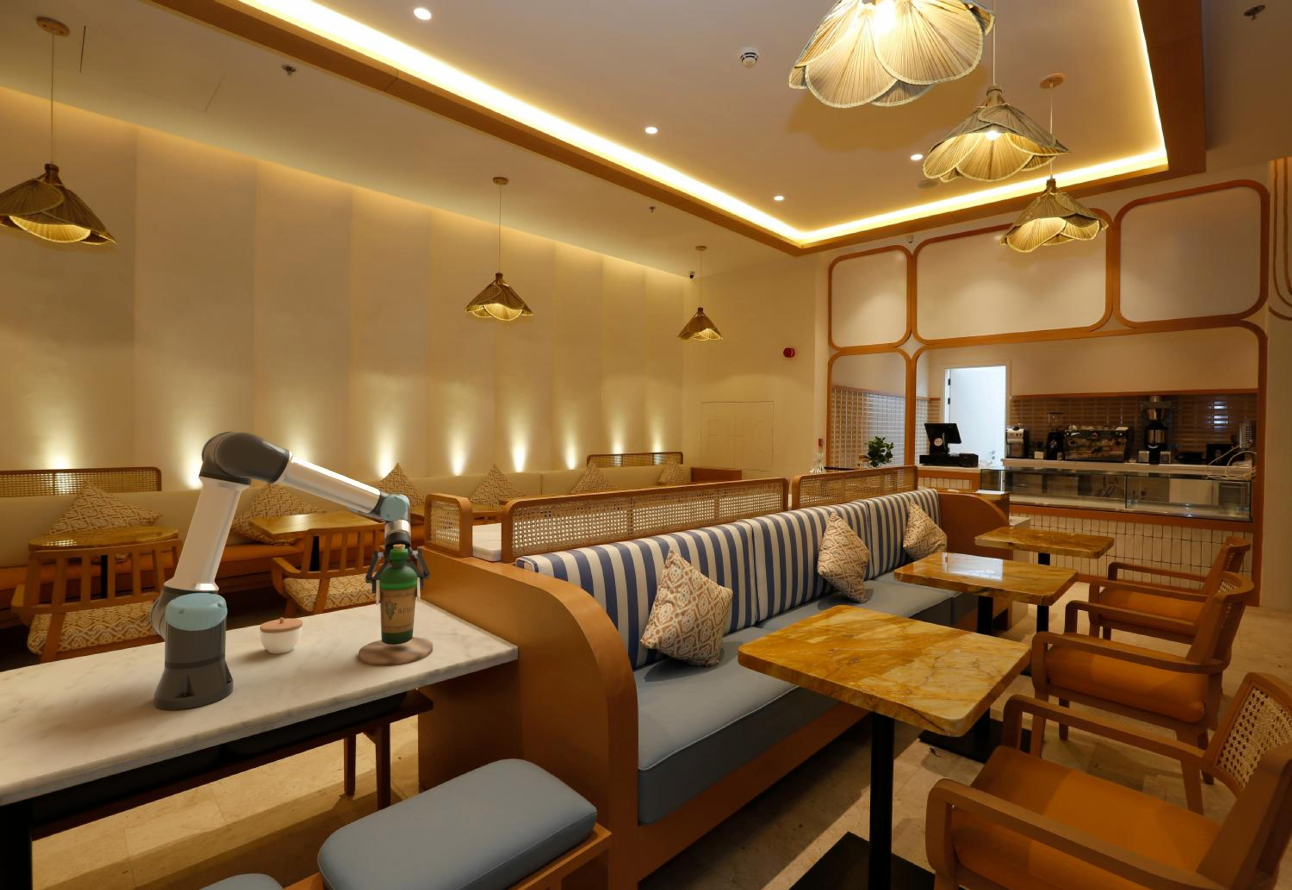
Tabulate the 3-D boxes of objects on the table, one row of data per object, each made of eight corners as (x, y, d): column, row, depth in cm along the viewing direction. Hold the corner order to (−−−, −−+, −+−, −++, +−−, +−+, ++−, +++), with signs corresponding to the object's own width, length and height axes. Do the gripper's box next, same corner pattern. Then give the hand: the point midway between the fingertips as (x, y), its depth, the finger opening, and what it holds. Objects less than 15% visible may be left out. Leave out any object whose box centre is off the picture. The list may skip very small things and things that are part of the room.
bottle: (383, 649, 168) (385, 549, 168) (372, 639, 177) (374, 544, 177) (421, 642, 175) (423, 546, 175) (409, 632, 183) (411, 541, 183)
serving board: (394, 670, 163) (394, 664, 163) (342, 657, 171) (342, 652, 171) (447, 648, 181) (447, 643, 181) (398, 637, 189) (398, 633, 189)
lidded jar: (287, 657, 171) (288, 624, 171) (250, 655, 171) (251, 622, 171) (309, 644, 181) (310, 613, 181) (274, 643, 182) (275, 612, 182)
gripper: (435, 543, 195) (438, 604, 180) (357, 546, 185) (354, 611, 171) (437, 529, 190) (441, 590, 175) (357, 532, 180) (354, 597, 166)
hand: (398, 600), depth 173 cm, fingers closed on bottle, 10 cm apart
